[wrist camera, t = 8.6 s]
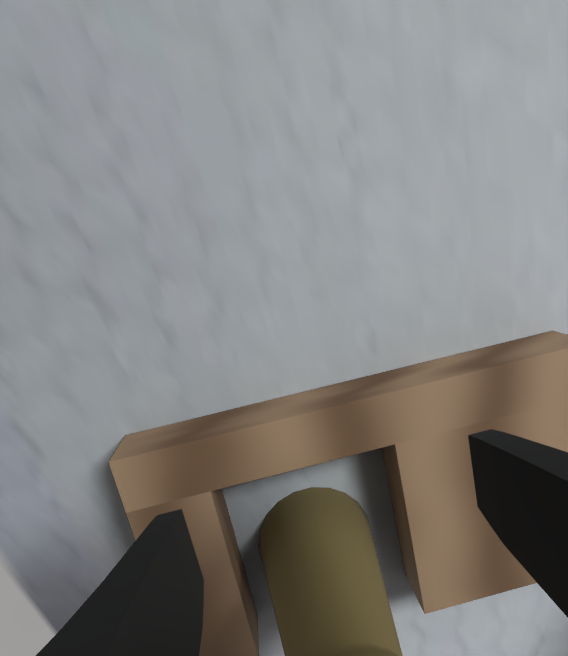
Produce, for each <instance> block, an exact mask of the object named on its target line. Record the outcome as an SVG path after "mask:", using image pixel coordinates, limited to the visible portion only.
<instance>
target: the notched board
mask: <svg viewBox="0 0 568 656" xmlns="http://www.w3.org/2000/svg"><path fill="white" fill-rule="evenodd" d="M490 429H493V430H497V431H501V432H505V433H509V434H512V435H515V436H519V437H522V438H525V439H528V440H531V441H534V442H537V443H540V444H544V445H547V446H550V447H553V448H556V449H559V450H562V451H565V452H568V335H566V334H563V333H559V332H555V331H550V332H546V333H542V334H538V335H534V336H529V337H525V338H521V339H517V340H513V341H509V342H505V343H501V344H497V345H493V346H489V347H485V348H480V349H476V350H472V351H468V352H464V353H460V354H456V355H452V356H448V357H444V358H440V359H436V360H431V361H427V362H423V363H419V364H415V365H411V366H407V367H403V368H399V369H395V370H391V371H387V372H382V373H378V374H374V375H370V376H366V377H362V378H358V379H354V380H350V381H346V382H342V383H338V384H333V385H329V386H325V387H321V388H317V389H313V390H309V391H305V392H301V393H297V394H293V395H289V396H284V397H280V398H276V399H272V400H268V401H264V402H260V403H256V404H252V405H248V406H244V407H240V408H235V409H231V410H227V411H223V412H219V413H215V414H211V415H207V416H203V417H199V418H195V419H191V420H186V421H182V422H178V423H174V424H170V425H166V426H162V427H158V428H154V429H150V430H146V431H142V432H137V433H133V434H129V435H125V436H124V438H123V440H122V441H121V443H120V444H119V446H118V448H117V449H116V451H115V453H114V454H113V456H112V457H111V459H110V461H109V465H110V468H111V471H112V474H113V477H114V480H115V482H116V485H117V488H118V491H119V494H120V497H121V500H122V503H123V506H124V509H125V512H126V514H127V517H128V520H129V523H130V526H131V529H132V532H133V535H134V538H135V541H136V540H137V538H138V537H139V536H140V535H141V533H142V532H143V531H144V530H145V528H146V527H147V526H148V525H149V523H150V522H151V521H152V520H153V519H154V518H155V517H156V515H160V514H163V513H167V512H171V511H175V510H179V509H182V511H183V514H184V518H185V521H186V524H187V527H188V530H189V534H190V537H191V540H192V543H193V546H194V550H195V553H196V556H197V559H198V562H199V566H200V569H201V572H202V575H203V578H204V606H203V629H202V637H201V644H200V652H199V656H259V643H258V618H257V612H256V609H255V605H254V601H253V598H252V594H251V591H250V587H249V584H248V580H247V577H246V573H245V570H244V566H243V562H242V559H241V555H240V552H239V548H238V545H237V541H236V538H235V534H234V531H233V527H232V524H231V520H230V516H229V513H228V509H227V506H226V502H225V499H224V495H223V492H222V488H226V487H230V486H233V485H237V484H241V483H245V482H249V481H253V480H257V479H261V478H265V477H269V476H273V475H277V474H281V473H284V472H288V471H292V470H296V469H300V468H304V467H308V466H312V465H316V464H320V463H324V462H328V461H332V460H335V459H339V458H343V457H347V456H351V455H355V454H359V453H363V452H367V451H371V450H375V449H379V448H382V449H383V455H384V460H385V466H386V471H387V477H388V482H389V488H390V493H391V499H392V504H393V509H394V515H395V520H396V526H397V531H398V537H399V542H400V548H401V553H402V559H403V564H404V570H405V575H406V577H407V579H408V581H409V583H410V585H411V587H412V589H413V591H414V593H415V595H416V597H417V599H418V601H419V603H420V605H421V607H422V609H423V611H424V613H425V614H426V613H430V612H433V611H437V610H440V609H444V608H448V607H451V606H455V605H458V604H462V603H466V602H469V601H473V600H476V599H480V598H484V597H487V596H491V595H494V594H498V593H502V592H505V591H509V590H512V589H516V588H520V587H523V586H527V585H530V584H534V583H537V582H536V581H535V580H534V579H533V578H532V576H531V575H530V574H529V573H528V572H527V571H526V570H525V568H524V567H523V566H522V565H521V564H520V563H519V562H518V560H517V559H516V558H515V557H514V556H513V555H512V554H511V552H510V551H509V550H508V549H507V548H506V547H505V545H504V544H503V543H502V541H501V540H500V539H499V537H498V536H497V534H496V533H495V532H494V530H493V529H492V527H491V526H490V524H489V523H488V521H487V520H486V519H485V517H484V516H483V514H482V513H481V511H480V510H479V508H478V506H477V499H476V491H475V484H474V477H473V469H472V462H471V454H470V447H469V440H468V435H470V434H474V433H478V432H482V431H486V430H490Z"/></svg>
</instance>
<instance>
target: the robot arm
mask: <svg viewBox="0 0 568 656" xmlns="http://www.w3.org/2000/svg"><path fill="white" fill-rule="evenodd" d="M468 440H469V447H470V454H471V462H472V469H473V477H474V484H475V491H476V499H477V506H478V508H479V510H480V511H481V513H482V514H483V516H484V517H485V519H486V520H487V521H488V523H489V524H490V526H491V527H492V529H493V530H494V532H495V533H496V534H497V536H498V537H499V539H500V540H501V541H502V543H503V544H504V545H505V547H506V548H507V549H508V550H509V551H510V552H511V554H512V555H513V556H514V557H515V558H516V559H517V560H518V562H519V563H520V564H521V565H522V566H523V567H524V568H525V570H526V571H527V572H528V573H529V574H530V575H531V576H532V578H533V579H534V580H535V581H536V582H537V583H538V584H539V585H540V587H541V588H542V589H543V590H544V591H545V592H546V593H547V594H548V596H549V597H550V598H551V599H552V600H553V601H554V602H555V603H556V605H557V606H558V607H559V608H560V609H561V610H562V611H563V612H564V614H565V615H566V616H567V617H568V452H565V451H562V450H559V449H556V448H553V447H550V446H547V445H544V444H540V443H537V442H534V441H531V440H528V439H525V438H522V437H519V436H515V435H512V434H509V433H505V432H501V431H497V430H493V429H490V430H486V431H482V432H478V433H474V434H470V435H468ZM203 606H204V578H203V575H202V572H201V569H200V566H199V562H198V559H197V556H196V553H195V550H194V546H193V543H192V540H191V537H190V534H189V530H188V527H187V524H186V521H185V518H184V514H183V511H182V509H179V510H175V511H171V512H167V513H163V514H160V515H156V517H155V518H154V519H153V520H152V521H151V522H150V523H149V525H148V526H147V527H146V528H145V530H144V531H143V532H142V533H141V535H140V536H139V537H138V538H137V540H136V541H135V542H134V543H133V545H132V546H131V547H130V549H129V550H128V551H127V552H126V554H125V555H124V556H123V557H122V558H121V560H120V561H119V562H118V563H117V565H116V566H115V567H114V568H113V570H112V571H111V572H110V573H109V575H108V576H107V577H106V578H105V580H104V581H103V582H102V583H101V584H100V585H99V587H98V588H97V589H96V590H95V591H94V592H93V594H92V595H91V596H90V597H89V598H88V599H87V600H86V602H85V603H84V604H83V605H82V606H81V607H80V608H79V610H78V611H77V612H76V613H75V614H74V615H73V616H72V618H71V619H70V620H69V621H68V622H67V623H66V624H65V626H64V627H63V628H62V629H61V630H60V631H59V632H58V633H57V634H56V635H55V636H54V637H53V638H52V639H51V640H50V642H49V643H48V644H47V645H46V646H45V647H44V648H43V649H42V650H41V651H40V652H39V653H38V654H37V655H36V656H199V652H200V644H201V637H202V629H203Z"/></svg>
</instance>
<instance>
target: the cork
mask: <svg viewBox="0 0 568 656" xmlns="http://www.w3.org/2000/svg"><path fill="white" fill-rule="evenodd" d="M259 549H260V554H261V558H262V562H263V566H264V570H265V574H266V579H267V583H268V587H269V591H270V595H271V599H272V603H273V608H274V612H275V616H276V620H277V624H278V628H279V633H280V637H281V641H282V645H283V649H284V653H285V656H402V652H401V648H400V644H399V640H398V636H397V632H396V629H395V625H394V621H393V617H392V613H391V609H390V605H389V601H388V597H387V593H386V589H385V585H384V581H383V578H382V574H381V570H380V566H379V562H378V558H377V554H376V550H375V546H374V542H373V538H372V534H371V530H370V527H369V523H368V519H367V515H366V514H365V512H364V511H363V509H362V508H361V506H360V505H359V503H358V502H357V501H355V500H354V499H353V498H351V497H350V496H349V495H347V494H346V493H343V492H340V491H337V490H334V489H331V488H308V489H304V490H301V491H297V492H294V493H292V494H290V495H289V496H287V497H285V498H284V499H282V500H281V501H279V502H278V503H277V504H276V505H275V506H274V507H273V508H272V510H271V511H270V512H269V513H268V514H267V515H266V518H265V520H264V522H263V524H262V527H261V529H260V535H259Z"/></svg>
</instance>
